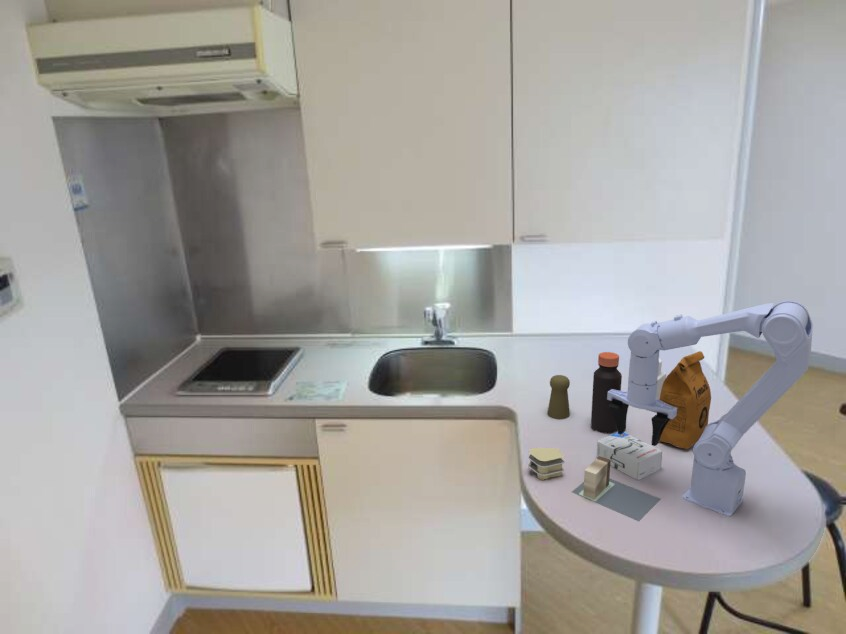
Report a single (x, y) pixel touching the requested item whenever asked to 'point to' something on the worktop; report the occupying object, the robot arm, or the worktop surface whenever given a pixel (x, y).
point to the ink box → (630, 455)
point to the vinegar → (605, 392)
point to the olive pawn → (559, 397)
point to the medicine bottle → (660, 380)
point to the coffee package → (686, 402)
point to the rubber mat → (623, 499)
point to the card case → (596, 477)
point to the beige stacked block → (546, 462)
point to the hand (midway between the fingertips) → (638, 438)
